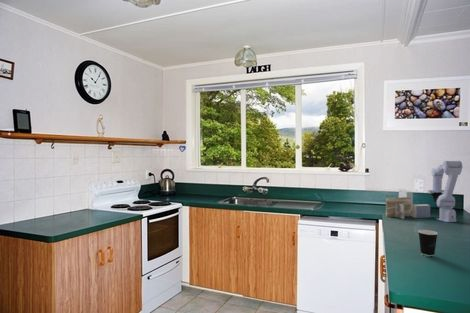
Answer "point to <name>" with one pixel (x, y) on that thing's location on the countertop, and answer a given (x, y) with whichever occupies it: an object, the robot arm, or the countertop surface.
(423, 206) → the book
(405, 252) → the countertop surface
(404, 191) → the skincare box
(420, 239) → the dixie cup
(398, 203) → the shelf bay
